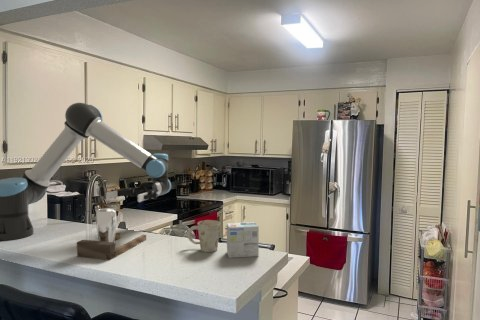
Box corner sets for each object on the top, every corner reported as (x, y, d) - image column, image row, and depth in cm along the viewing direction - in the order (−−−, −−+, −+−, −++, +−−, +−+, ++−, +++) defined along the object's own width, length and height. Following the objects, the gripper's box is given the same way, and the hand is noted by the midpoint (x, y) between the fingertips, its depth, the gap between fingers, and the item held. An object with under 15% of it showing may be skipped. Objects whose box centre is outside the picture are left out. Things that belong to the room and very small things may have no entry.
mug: (216, 254, 125) (217, 226, 124) (183, 251, 127) (183, 224, 127) (222, 247, 133) (222, 220, 132) (190, 244, 136) (190, 219, 135)
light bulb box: (255, 250, 129) (255, 221, 128) (259, 256, 122) (259, 226, 122) (226, 252, 127) (226, 222, 127) (228, 258, 121) (228, 227, 120)
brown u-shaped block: (117, 237, 145) (117, 225, 145) (146, 239, 142) (146, 227, 141) (77, 256, 122) (76, 242, 121) (110, 259, 119) (110, 245, 118)
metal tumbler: (115, 253, 125) (114, 211, 124) (94, 254, 123) (93, 212, 123) (118, 247, 131) (118, 207, 130) (98, 248, 130) (98, 208, 129)
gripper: (175, 200, 154) (152, 209, 133) (124, 196, 160) (94, 204, 139) (175, 183, 153) (152, 189, 133) (124, 179, 159) (94, 185, 139)
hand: (122, 197), depth 136 cm, fingers open, 13 cm apart
